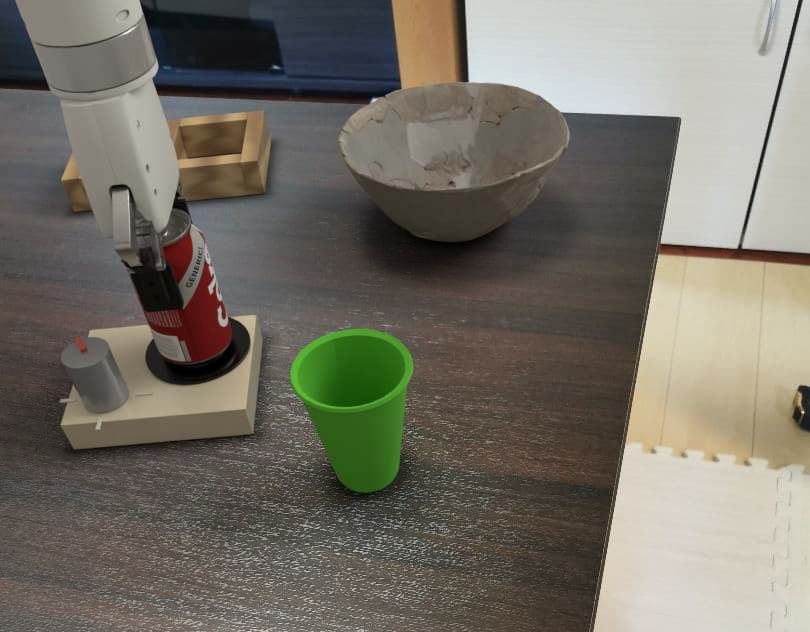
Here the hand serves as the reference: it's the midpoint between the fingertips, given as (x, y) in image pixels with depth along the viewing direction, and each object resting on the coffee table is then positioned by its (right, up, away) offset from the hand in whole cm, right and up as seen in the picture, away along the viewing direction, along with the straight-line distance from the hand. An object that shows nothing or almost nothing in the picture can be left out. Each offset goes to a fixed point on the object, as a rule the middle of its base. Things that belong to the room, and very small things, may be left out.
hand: (172, 274), depth 70 cm
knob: (-7, -10, +3) cm, 12 cm away
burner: (+1, -5, +6) cm, 8 cm away
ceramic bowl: (+25, +12, +21) cm, 35 cm away
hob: (-2, -9, +7) cm, 11 cm away
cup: (+16, -17, -1) cm, 23 cm away
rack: (-9, +22, +32) cm, 40 cm away
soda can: (+1, -5, +6) cm, 8 cm away
